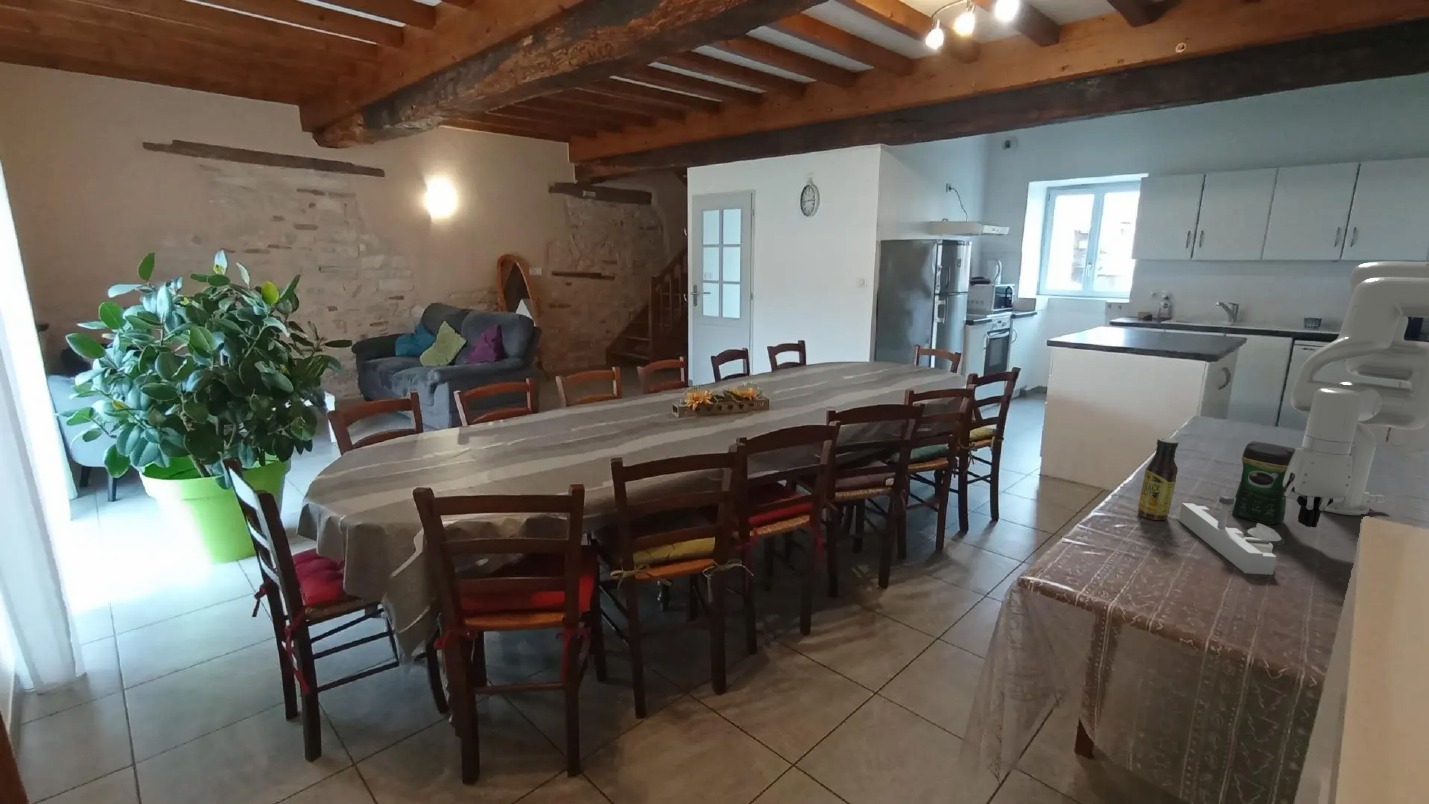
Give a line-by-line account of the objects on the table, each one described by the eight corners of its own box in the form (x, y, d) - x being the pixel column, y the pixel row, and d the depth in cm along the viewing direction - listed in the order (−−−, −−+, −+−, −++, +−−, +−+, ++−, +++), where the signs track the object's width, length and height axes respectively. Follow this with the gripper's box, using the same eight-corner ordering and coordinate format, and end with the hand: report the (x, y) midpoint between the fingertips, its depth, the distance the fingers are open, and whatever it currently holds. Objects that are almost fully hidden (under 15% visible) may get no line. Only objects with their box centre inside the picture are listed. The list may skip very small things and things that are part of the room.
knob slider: (1259, 555, 135) (1263, 535, 134) (1275, 566, 130) (1279, 546, 129) (1232, 553, 136) (1236, 534, 135) (1247, 564, 131) (1252, 545, 130)
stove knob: (1263, 530, 147) (1266, 519, 146) (1293, 545, 140) (1296, 533, 139) (1234, 532, 146) (1236, 520, 146) (1263, 547, 139) (1265, 535, 139)
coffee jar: (1286, 519, 152) (1303, 445, 147) (1278, 528, 147) (1295, 453, 142) (1235, 506, 159) (1250, 436, 154) (1226, 515, 154) (1241, 443, 150)
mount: (1201, 521, 151) (1210, 476, 148) (1272, 574, 127) (1284, 522, 124) (1178, 520, 152) (1187, 475, 149) (1244, 572, 128) (1256, 520, 125)
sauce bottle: (1131, 511, 157) (1143, 435, 152) (1154, 510, 158) (1167, 434, 153) (1150, 523, 151) (1164, 443, 146) (1175, 521, 151) (1189, 442, 146)
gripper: (1352, 442, 138) (1332, 520, 143) (1275, 438, 141) (1257, 515, 145) (1381, 453, 131) (1359, 534, 135) (1299, 448, 134) (1280, 529, 138)
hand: (1306, 524), depth 140 cm, fingers closed
